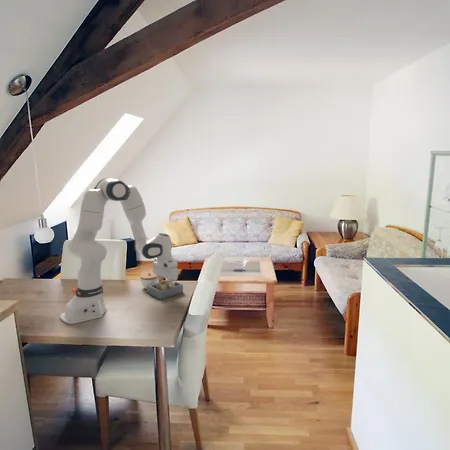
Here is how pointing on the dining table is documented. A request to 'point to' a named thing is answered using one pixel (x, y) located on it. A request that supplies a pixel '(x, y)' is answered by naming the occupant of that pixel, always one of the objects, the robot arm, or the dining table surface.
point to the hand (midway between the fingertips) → (165, 284)
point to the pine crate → (164, 285)
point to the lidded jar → (148, 279)
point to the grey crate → (165, 291)
